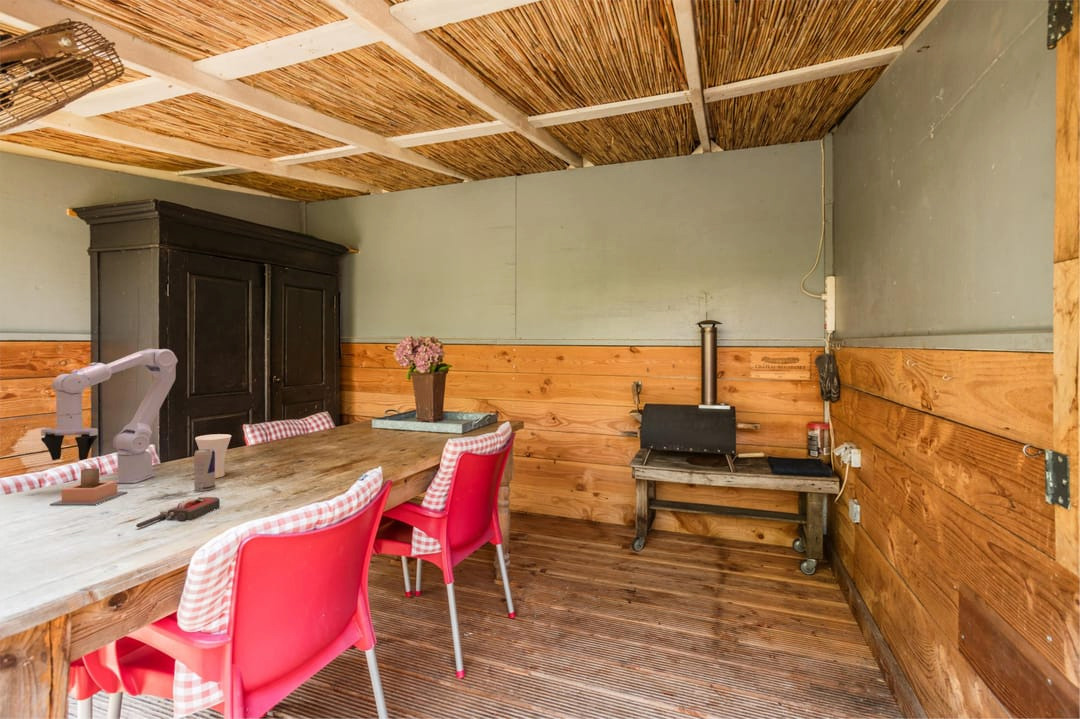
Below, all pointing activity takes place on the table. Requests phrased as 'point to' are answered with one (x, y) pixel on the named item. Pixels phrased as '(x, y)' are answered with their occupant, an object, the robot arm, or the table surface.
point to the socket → (89, 494)
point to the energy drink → (204, 470)
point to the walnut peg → (90, 478)
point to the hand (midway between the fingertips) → (69, 459)
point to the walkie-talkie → (187, 510)
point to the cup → (215, 449)
